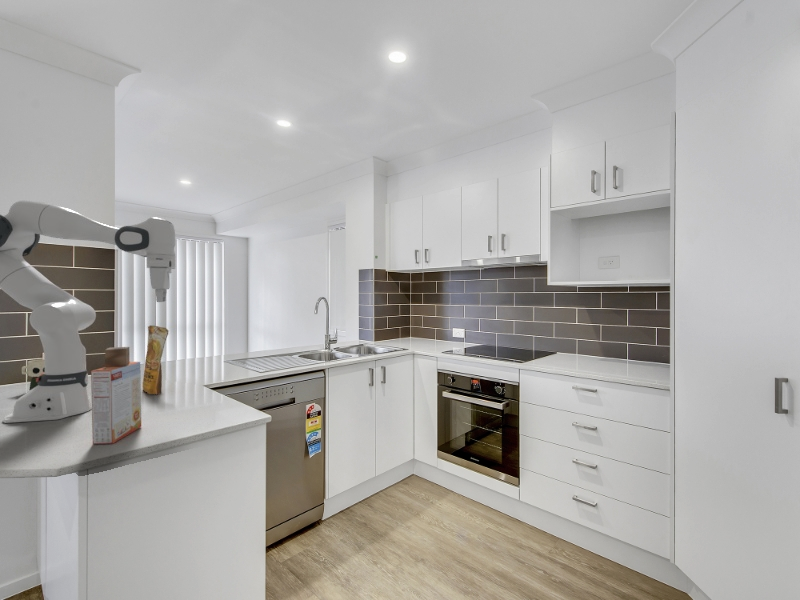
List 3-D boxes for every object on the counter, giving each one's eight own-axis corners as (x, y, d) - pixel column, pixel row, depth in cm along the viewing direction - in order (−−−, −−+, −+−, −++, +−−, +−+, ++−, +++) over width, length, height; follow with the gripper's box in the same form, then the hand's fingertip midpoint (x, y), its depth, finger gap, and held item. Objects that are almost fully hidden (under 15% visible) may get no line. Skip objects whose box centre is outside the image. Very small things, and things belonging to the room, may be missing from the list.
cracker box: (122, 427, 121) (122, 361, 121) (142, 427, 122) (142, 361, 121) (89, 445, 107) (89, 369, 107) (112, 444, 108) (112, 369, 107)
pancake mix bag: (156, 386, 176) (156, 324, 175) (169, 393, 163) (169, 327, 162) (139, 388, 171) (138, 325, 171) (151, 396, 158) (151, 328, 157)
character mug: (23, 394, 160) (23, 363, 159) (20, 392, 164) (19, 361, 164) (58, 389, 168) (58, 359, 168) (53, 387, 173) (53, 358, 172)
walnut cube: (105, 367, 111) (105, 349, 111) (109, 364, 115) (109, 347, 115) (126, 365, 113) (126, 348, 113) (129, 363, 118) (129, 346, 117)
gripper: (154, 265, 147) (154, 301, 148) (146, 261, 129) (146, 302, 129) (173, 265, 150) (173, 301, 150) (168, 261, 132) (168, 302, 132)
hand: (161, 301), depth 140 cm, fingers open, 8 cm apart
